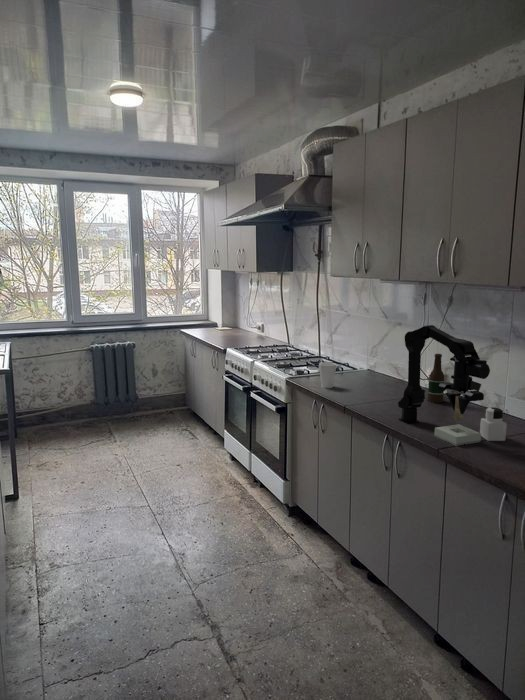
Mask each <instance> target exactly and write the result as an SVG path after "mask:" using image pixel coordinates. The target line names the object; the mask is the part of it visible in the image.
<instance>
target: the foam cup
mask: <svg viewBox="0 0 525 700" xmlns="http://www.w3.org/2000/svg"><path fill="white" fill-rule="evenodd" d="M318 368H319V375H320V384H321V385H320V386H321V388H323V389H332V388H333V387H334V383H335V377H336V370H337V363H335V362H330V361H329V362H327V361H326V362H319V364H318Z"/></svg>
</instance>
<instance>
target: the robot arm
mask: <svg viewBox="0 0 525 700" xmlns="http://www.w3.org/2000/svg"><path fill="white" fill-rule="evenodd" d="M430 338H431V339H433V340H434V341H436V342H438V343H439V344H441V345H443V346H445V347H447V348H448V351H450V353H451V354H452V355H453V356H451V357H450V358H449V361H451V362H454V366H453V375H451V376H450V379H453V380H452V382H449V381H448V382H447V381H446V382H444V383H440V384H439V386H438V390H440V391H444V393H445V394H444V395H446V397H447V399H448V401H449V403H450V405H451V407H452V410H453V412H454V413H455V399H456V396H462V397H461V398H458V400H459V408H460V413H461V414H463V415H464V414H465V411H466V410H467V407H468V405H469V404H470V402H478V401H479V402H481V401H484V398H485V394H484V393H483V392H482V391H480V389H481V387H482V383H479V382H477V381H474V380H473V377H474V378H478V379H482V380H486V379H487V378H488V377H489V375H490V372H491V368H490V366H489V365H488V363H487V360H486V359H485V360H484V359H481V358H480V356H479V354H478V352H477V350H476V348H475V345H474V343H473V342H472V341H471V340H468V339H467V340H466V339H463V338H458V337H454V336H453V335H451V334H449V333H447V332H446V331H443V330H441V329H440V328H438V327H437V326H435V325H433V324H429V325H424V326H421V327H420V328H417V329H414V330H412V331H407V332H406V333H405V334H404V346H405V347H406V350H407V351H408V362H407V363H408V366H407V367H408V370H407V374H408V375H407V386H406V387H405V389H404V390H403V396H402V398H401V399H400V400H399V401H398V402H397V405H398V408H399V409H400V408H401V417H400V418H398V420H399V421H401V422H404V423H406V424H414V423H420V420H419V419H418V408H421V407H422V404H423V403H424V401H425V400H426V397H425V396H426V390H425V389H423V388H422V386H421V365H422V364H421V363H422V362H421V357H422V350H423V349H424V347H425V345H426V340H428V339H430ZM445 391H446V392H445ZM424 399H425V400H424Z"/></svg>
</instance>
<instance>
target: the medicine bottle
mask: <svg viewBox="0 0 525 700" xmlns="http://www.w3.org/2000/svg"><path fill="white" fill-rule="evenodd" d="M503 414H504V411H503V410H502V409H501V408H499V407H488V408H486V409H485V417H483V418H480V427H479V433H481V438H483V439H484V440H486V441H488V442H505V441H506V435H507V426H508V425H507V422H505V421H503V416H504V415H503Z"/></svg>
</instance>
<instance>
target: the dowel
mask: <svg viewBox="0 0 525 700" xmlns="http://www.w3.org/2000/svg"><path fill="white" fill-rule="evenodd" d="M462 396H463V395H460V396H456V399H455V412H454V414H453V419H454V420H456V421H463V419H464V414H461V413H460V408H459V400H458V398H461V397H462Z"/></svg>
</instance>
